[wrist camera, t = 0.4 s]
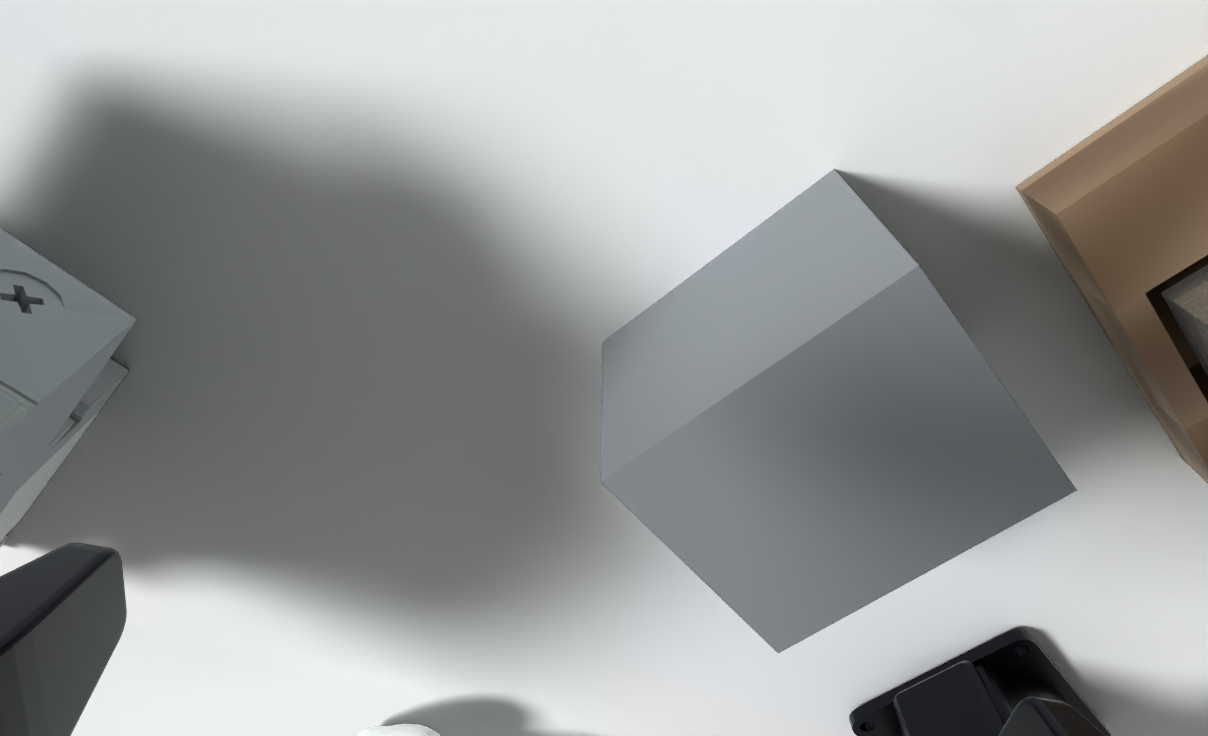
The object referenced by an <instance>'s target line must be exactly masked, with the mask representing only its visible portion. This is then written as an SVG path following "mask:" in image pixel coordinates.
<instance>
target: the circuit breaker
mask: <svg viewBox="0 0 1208 736" xmlns="http://www.w3.org/2000/svg"><path fill="white" fill-rule="evenodd" d="M136 320H137V319H136V318H134V317H133V316H131V315H130V314H128V313H127V312H125V311H124V310H122V309H121V308H119V307H118V306H116V305H115V304H113V303H112V302H110V301H109V300H107V299H106V298H104V297H103V296H101V295H100V294H98V293H97V292H95V291H94V290H92V289H91V288H89V287H88V286H86V285H85V284H83V283H82V282H80V281H79V280H77V279H76V278H74V277H73V276H71V275H70V274H68V273H67V272H65V271H64V270H62V269H61V268H59V267H58V266H56V265H55V264H53V263H52V262H50V261H49V260H47V259H46V258H44V257H43V256H41V255H40V254H38V253H37V252H35V251H34V250H32V249H31V248H29V247H28V246H26V245H25V244H23V243H22V242H20V241H19V240H17V239H16V238H14V237H13V236H11V235H10V234H8V233H7V232H6V231H4V230H3V229H1V228H0V547H1V546H2V545H3V544H4V542H5V541H6V540H7V538H8V536H6V535H7V533H8V532H9V531H10V530H11V529H12V528H13V527H14V526H15V525H16V524H17V523H18V522H19V521H20V520H21V519H22V518H23V516H24V515H25V513H26V512H27V511H28V509H29V508H30V507H31V505H32V504H33V502H34V501H35V500H36V498H37V497H38V496H39V494H40V493H41V491H42V490H43V489H44V487H45V486H46V485H47V483H48V482H49V480H50V479H51V478H52V476H53V475H54V474H55V472H56V471H57V469H58V468H59V467H60V465H61V464H62V462H63V461H64V460H65V458H66V457H67V456H68V454H69V453H70V451H71V450H72V449H73V447H74V446H75V445H76V443H77V442H78V440H79V439H80V438H81V436H82V435H83V434H84V432H85V431H86V429H87V428H88V427H89V425H90V424H91V423H92V421H93V420H94V418H95V417H96V416H97V414H98V413H99V412H100V410H101V409H102V407H103V406H104V405H105V403H106V402H107V400H108V399H109V398H110V396H111V395H112V394H113V392H114V391H115V389H116V388H117V387H118V385H119V384H120V383H121V381H122V380H123V378H124V377H125V376H126V374H127V373H128V371H129V370H127V369H126V368H124V367H123V366H121V365H120V364H118V363H116V362H115V361H113V360H112V359H110V357H111V356H112V355H113V353H114V352H115V350H116V349H117V347H118V346H119V345H120V343H121V342H122V340H123V339H124V338H125V336H126V335H127V333H128V332H129V330H130V329H131V328H132V326H133V325H134V323H135V322H136Z"/></svg>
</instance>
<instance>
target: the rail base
mask: <svg viewBox="0 0 1208 736" xmlns="http://www.w3.org/2000/svg"><path fill="white" fill-rule="evenodd" d="M1016 189H1017V190H1018V192H1019V194H1020V195H1021V197H1022V199H1023V200H1024V202H1025V203H1026V205H1027V207H1028V208H1029V210H1030V212H1031V213H1032V215H1033V216H1034V218H1035V220H1036V221H1037V223H1038V225H1039V226H1040V228H1041V229H1042V231H1043V233H1044V234H1045V236H1046V238H1047V239H1048V241H1049V243H1050V244H1051V246H1052V247H1053V249H1054V251H1055V252H1056V254H1057V256H1058V257H1059V259H1060V260H1061V262H1062V264H1063V265H1064V267H1065V269H1066V270H1067V272H1068V273H1069V275H1070V277H1071V278H1072V280H1073V282H1074V283H1075V285H1076V287H1077V288H1078V290H1079V291H1080V293H1081V295H1082V296H1083V298H1084V300H1085V301H1086V303H1087V304H1088V306H1089V308H1090V309H1091V311H1092V313H1093V314H1094V316H1095V318H1096V319H1097V321H1098V322H1099V324H1100V326H1101V327H1102V329H1103V331H1104V332H1105V334H1106V335H1107V337H1108V339H1109V340H1110V342H1111V344H1112V345H1113V347H1114V348H1115V350H1116V352H1117V353H1118V355H1119V357H1120V358H1121V360H1122V362H1123V363H1124V365H1125V366H1126V368H1127V370H1128V371H1129V373H1130V375H1131V376H1132V378H1133V379H1134V381H1135V383H1136V384H1137V386H1138V388H1139V389H1140V391H1141V392H1142V394H1143V396H1144V397H1145V399H1146V401H1147V402H1148V404H1149V406H1150V407H1151V409H1152V410H1153V412H1154V414H1155V415H1156V417H1157V419H1158V420H1159V422H1160V423H1161V425H1162V427H1163V428H1164V430H1165V432H1166V433H1167V435H1168V436H1169V438H1170V440H1171V441H1172V443H1173V445H1174V446H1175V448H1176V450H1177V451H1178V453H1179V454H1180V456H1181V458H1182V459H1183V460H1184V461H1185V462H1186V463H1187V464H1188V465H1189V466H1190V467H1191V468H1192V469H1193V470H1195V471H1196V472H1197V473H1198V474H1199V475H1200V476H1201V477H1202V478H1203V479H1204V480H1205V481H1206V482H1207V483H1208V376H1207V374H1206V373H1205V371H1204V369H1203V367H1202V365H1201V364H1200V362H1199V360H1198V358H1197V357H1196V355H1195V353H1194V351H1193V349H1192V348H1191V346H1190V344H1189V342H1188V341H1187V339H1186V337H1185V335H1184V333H1183V332H1182V330H1181V328H1180V326H1179V325H1178V323H1177V321H1176V319H1175V318H1174V316H1173V314H1172V312H1171V310H1170V309H1169V307H1168V305H1167V303H1166V302H1165V300H1164V298H1163V296H1162V294H1161V292H1163V291H1165V290H1166V289H1168V288H1170V287H1171V286H1173V285H1175V284H1176V283H1178V282H1180V281H1181V280H1183V279H1185V278H1186V277H1188V276H1189V275H1191V274H1193V273H1194V272H1196V271H1198V270H1199V269H1201V268H1203V267H1204V266H1206V265H1208V55H1207V56H1206V57H1205V58H1203V59H1202V60H1200V61H1199V62H1197V63H1196V64H1194V65H1193V66H1191V67H1190V68H1189V69H1187V70H1186V71H1184V72H1183V73H1181V74H1180V75H1178V76H1177V77H1175V78H1174V79H1172V80H1171V81H1170V82H1168V83H1167V84H1165V85H1164V86H1162V87H1161V88H1159V89H1158V90H1156V91H1155V92H1153V93H1152V94H1151V95H1149V96H1148V97H1146V98H1145V99H1143V100H1142V101H1140V102H1139V103H1137V104H1136V105H1135V106H1133V107H1132V108H1130V109H1129V110H1127V111H1126V112H1124V113H1123V114H1121V115H1120V116H1118V117H1117V118H1116V119H1114V120H1113V121H1111V122H1110V123H1108V124H1107V125H1105V126H1104V127H1102V128H1101V129H1099V130H1098V131H1097V132H1095V133H1094V134H1092V135H1091V136H1089V137H1088V138H1086V139H1085V140H1083V141H1082V142H1080V143H1079V144H1078V145H1076V146H1075V147H1073V148H1072V149H1070V150H1069V151H1067V152H1066V153H1064V154H1063V155H1062V156H1060V157H1059V158H1057V159H1056V160H1054V161H1053V162H1051V163H1050V164H1048V165H1047V166H1045V167H1044V168H1043V169H1041V170H1040V171H1038V172H1037V173H1035V174H1034V175H1032V176H1031V177H1029V178H1028V179H1026V180H1025V181H1024V182H1022V183H1021V184H1019V185H1018V186H1016Z"/></svg>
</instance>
